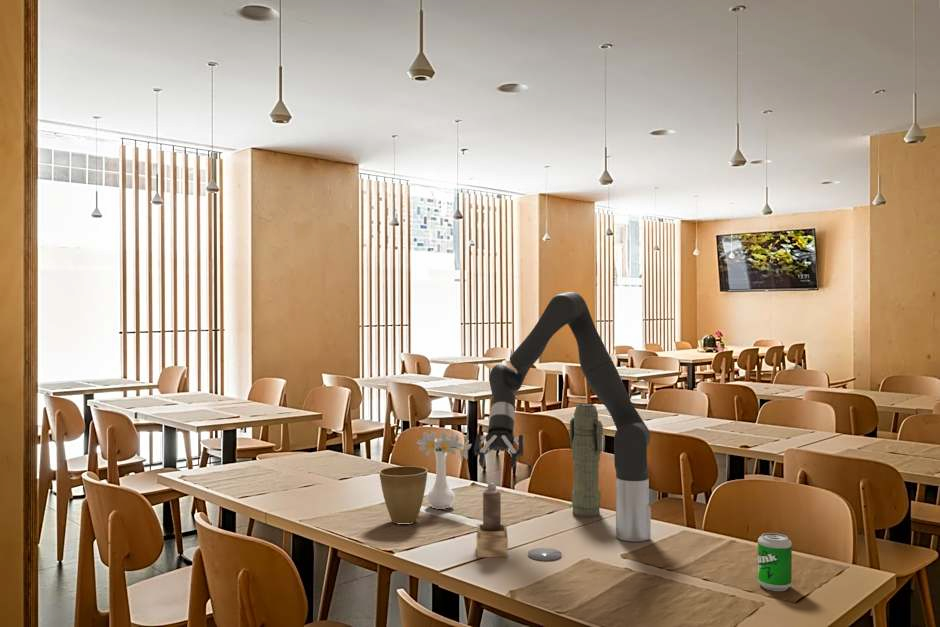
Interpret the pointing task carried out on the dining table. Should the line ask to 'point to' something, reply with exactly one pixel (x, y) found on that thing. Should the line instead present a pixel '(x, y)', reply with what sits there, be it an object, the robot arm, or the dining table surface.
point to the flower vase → (441, 466)
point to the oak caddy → (492, 542)
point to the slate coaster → (544, 554)
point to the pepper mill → (491, 508)
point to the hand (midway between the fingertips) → (497, 466)
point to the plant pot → (403, 491)
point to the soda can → (774, 561)
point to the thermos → (586, 459)
